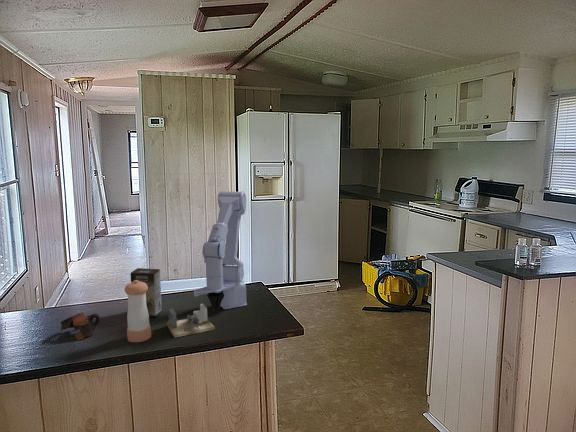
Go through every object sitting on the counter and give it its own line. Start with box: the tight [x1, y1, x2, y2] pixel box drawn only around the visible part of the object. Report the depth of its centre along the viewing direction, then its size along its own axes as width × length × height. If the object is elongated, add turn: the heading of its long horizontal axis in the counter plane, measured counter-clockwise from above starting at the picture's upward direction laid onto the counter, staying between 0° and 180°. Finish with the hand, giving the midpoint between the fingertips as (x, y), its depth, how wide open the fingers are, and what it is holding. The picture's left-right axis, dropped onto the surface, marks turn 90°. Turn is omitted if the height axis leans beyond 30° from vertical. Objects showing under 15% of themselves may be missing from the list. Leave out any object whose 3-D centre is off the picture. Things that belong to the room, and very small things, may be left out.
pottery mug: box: [60, 311, 102, 341], centre depth 144 cm, size 12×10×8 cm
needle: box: [193, 318, 199, 325], centre depth 146 cm, size 1×4×2 cm, turn 27°
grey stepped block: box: [186, 303, 208, 323], centre depth 150 cm, size 6×7×5 cm
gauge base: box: [166, 317, 216, 339], centre depth 148 cm, size 14×11×2 cm
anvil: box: [167, 307, 178, 329], centre depth 147 cm, size 2×6×5 cm, turn 27°
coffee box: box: [130, 267, 162, 317], centre depth 161 cm, size 9×6×16 cm
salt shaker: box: [124, 280, 152, 343], centre depth 139 cm, size 7×7×19 cm
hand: (215, 312), depth 154 cm, fingers closed
